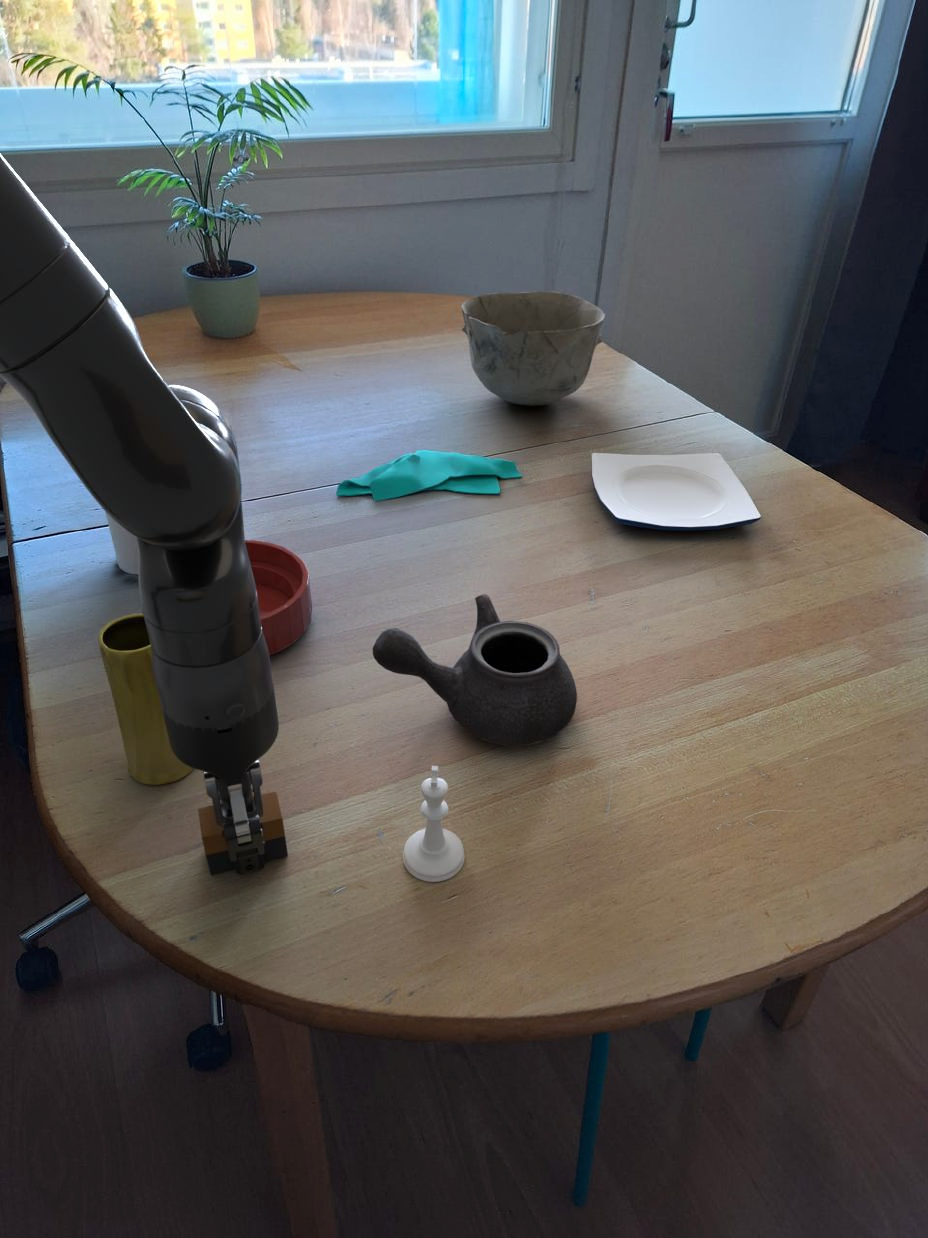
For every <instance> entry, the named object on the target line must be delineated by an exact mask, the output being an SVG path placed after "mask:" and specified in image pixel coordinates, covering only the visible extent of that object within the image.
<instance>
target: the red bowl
mask: <svg viewBox="0 0 928 1238" xmlns="http://www.w3.org/2000/svg"><path fill="white" fill-rule="evenodd" d="M245 544H246V549H247V553H248V557H249V561H250V565H251V568H252V572H253V576H254V580H255V585H256V591H257V597H258V604H259V611H260V618H261V626H262V631H263V634H264V637H265V640H266V644H267V647H268V651H269V656H272V655H274V654H277V653H279V652H281V651H282V650H284V649H286V648H288V647H290V646H291V645H293V644H294V643H295V642H296V641H297V640H298V639H299V638H300V637H301V636H303V635H304V633H305V631H306V630H307V628H308V627H309V624H310V623H311V621H312V614H313V603H312V592H311V582H310V573H309V570H308V567H307V564H306V562H305V561H304V560H303V559H302V558H301V556H299V555H298V554H297V553H296V552H294V551H292V550H290V549H289V548H286V547H285V546H282V545H279V544H275V543H273V542H269V541H263V540H255V539H245Z"/></svg>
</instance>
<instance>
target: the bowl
mask: <svg viewBox="0 0 928 1238" xmlns="http://www.w3.org/2000/svg"><path fill="white" fill-rule="evenodd" d="M460 309H461V313H462V317H463V321H464V325H463V326H462V327H461V331H462V332H463V333H464V334H465V335H466V337H467V340H468V346H469V359H470V364H471V368H472V370H473V372H474V374H475V375H476V377H477V378H478V380H479V381H480V382H481V383H482V385H483V386H484V388H485V389H486V390H488V392H490V393H492V394H493V395H495V396H496V397H498V398H500V399H502V400H504V401H506V402H508V403H512V404H516V405H521V406H531V407H532V406H546V405H551V404H554V403H557V402H559V401H560V400H563V399H564V398H566V397H568V396H570V395H572V394H574V393H575V392H577V391H578V390H579V389H580V388H581V386H582V385H584V383H585V381H586V379H587V377H588V374H589V372H590V368H591V364H592V361H593V357H594V354H595V350H596V347H597V345H600V344H601V343H602V342H603V341H602V339H603V336H602V334H601V331H602V327H603V325H604V322H605V318H606V313H605V312H604V311H602V309H601V308H600V307H599V306H596V305H595V304H592V303H591V302H590V301H587V300H585V299H584V298H583V297H582V298H581V297H579V296H577V295H572V294H565V293H564V292H559V291H550V290H534V291H521V292H520V291H517V292H516V291H515V292H514V291H513V292H504V291H503V292H501V291H500V292H491V293H487V294H482V295H477V296H474V297H471V298H469V299H468V300H466V301H465V302H462V305H461V307H460Z"/></svg>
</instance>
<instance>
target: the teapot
mask: <svg viewBox="0 0 928 1238" xmlns="http://www.w3.org/2000/svg"><path fill="white" fill-rule="evenodd" d="M474 600H475V604H476V626H475V628H474V631H473V635H472V637H471V640H470V642H469V643H470V644H469V647H468V648H467V650H466V651H465V652H464V653H463V654H462V655H461V656H460V658H459V659H457V662H456V663H455V664H454V666H453V667H451V666H446V665H443V664H439V663H437V662H435V661H433V660H432V659H431V658H430V657H429V656H428V655H427V654H426V652H425V651H424V650H423V648H422V646H421V645H420V643H419V642H418V641H417V640H416V639H415V637H414V636H413V635H411V634H410V633H408V632H406V631H404V630H402V629H400V628H397V627H390V628H387V629H385V630H383V631H382V632H381V633H380V635H379V636H378V637H377V638H376V640H375V642H374V644H373V646H372V656H373V659H374V661H376V662H377V664H378V665H379V666H381V667H382V668H384V669H385V670H387V671H389V672H392V673H394V674H398V675H407V676H413V677H418V678H419V679H421V680H423V681H424V682H425V683H426V684H427V685H428V687H429V688H430V689H431V690H433V692H434V693H435V694H436V695H438V697H440V698H441V699H442V700H443V701H444V702H445V703H446V705H447V708H448V711H449V714H451V716H452V717H453V719H454V720H455V722H456V723H457V724H458V725H460V727H461V728H462V729H463V730H465V731H466V732H467V733H469V734H471V735H472V736H474V737H476V738H478V739H481V740H483V741H486V742H487V743H490V744H496V745H501V746H510V747H511V746H512V747H516V746H518V747H519V746H529V745H534V744H538V743H541V742H544V741H546V740H548V739H550V738H552V737H554V736H556V735H558V734H559V733H560V732H562V731H563V730H564V729H565V728H566V726H567V725H568V724H569V723H570V722H571V721H572V719H573V716H574V714H575V712H576V708H577V703H578V702H577V701H578V693H577V691H578V690H577V687H576V686H577V685H576V682H575V679H574V676H573V674H572V671H571V669H570V667H569V665H568V664H567V662H566V660H565V659H564V657H563V656H562V655H561V652H560V651H561V650H560V645H559V642H558V640H557V639H556V638H555V636H554V635H553V634H551V632H549V630H547V629H545V628H543V627H541V626H540V625H538V624H534V623H530V622H527V621H517V620H506V621H505V620H504V621H501V620H500V618H499V616H498V613H497V611H496V609H495V606H494V604H493V602H492V599H491V598H490V596H489V595H488V594H486V593H484V594H480V595H477V596H476V597H475V598H474Z"/></svg>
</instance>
